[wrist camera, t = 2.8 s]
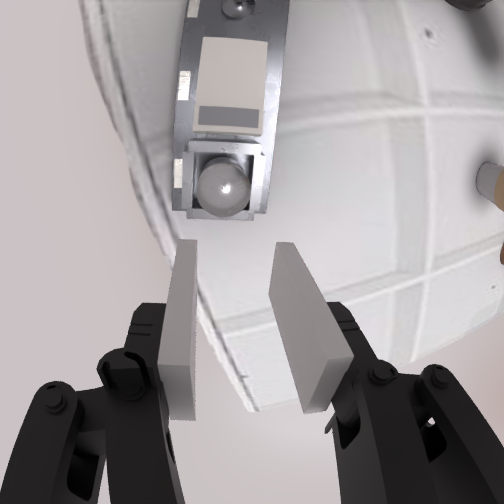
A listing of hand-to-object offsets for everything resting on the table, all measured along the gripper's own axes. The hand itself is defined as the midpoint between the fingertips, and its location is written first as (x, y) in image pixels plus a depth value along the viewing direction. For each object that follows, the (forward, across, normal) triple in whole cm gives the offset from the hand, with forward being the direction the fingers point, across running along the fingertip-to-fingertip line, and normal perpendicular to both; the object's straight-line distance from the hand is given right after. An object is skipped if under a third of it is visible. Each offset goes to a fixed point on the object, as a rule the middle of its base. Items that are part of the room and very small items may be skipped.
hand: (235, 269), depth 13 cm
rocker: (+15, 0, +9) cm, 17 cm away
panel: (+21, 0, +9) cm, 22 cm away
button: (+16, 0, 0) cm, 16 cm away
